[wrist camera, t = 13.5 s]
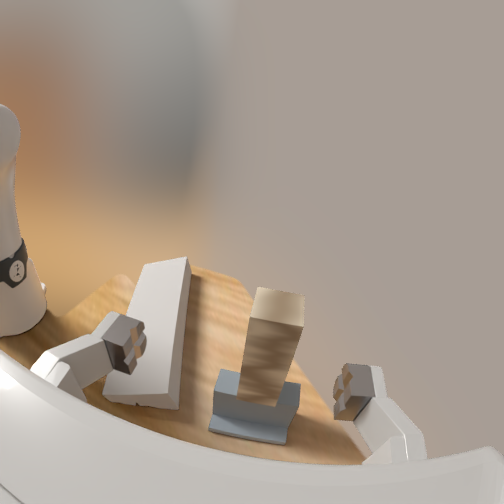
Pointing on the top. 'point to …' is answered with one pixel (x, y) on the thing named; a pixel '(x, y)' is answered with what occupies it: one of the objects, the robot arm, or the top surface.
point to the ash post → (270, 345)
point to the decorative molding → (156, 337)
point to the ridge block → (252, 412)
